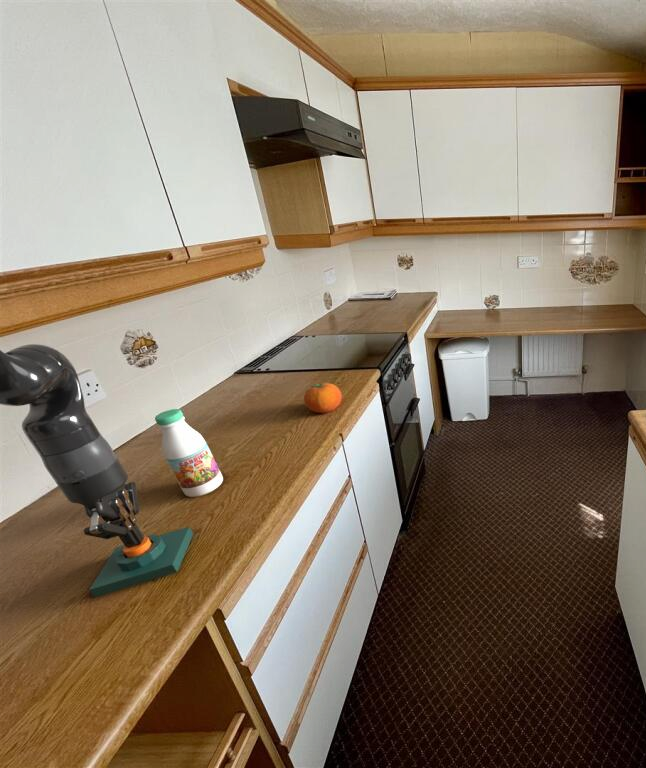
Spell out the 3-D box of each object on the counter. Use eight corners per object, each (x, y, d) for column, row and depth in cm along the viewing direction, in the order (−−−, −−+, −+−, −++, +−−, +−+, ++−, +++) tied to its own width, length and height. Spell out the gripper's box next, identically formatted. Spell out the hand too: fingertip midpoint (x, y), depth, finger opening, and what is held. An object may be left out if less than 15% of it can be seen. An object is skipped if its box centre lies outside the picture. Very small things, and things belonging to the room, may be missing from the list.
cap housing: (95, 598, 70) (83, 582, 68) (121, 555, 78) (110, 540, 76) (178, 573, 73) (168, 557, 71) (194, 534, 82) (185, 519, 80)
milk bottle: (176, 495, 93) (135, 421, 85) (208, 474, 100) (172, 403, 91) (201, 500, 91) (161, 424, 82) (231, 478, 98) (197, 406, 89)
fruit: (349, 409, 126) (342, 386, 122) (314, 421, 120) (306, 398, 116) (337, 398, 133) (331, 376, 130) (304, 409, 128) (297, 386, 124)
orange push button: (123, 561, 72) (118, 554, 71) (132, 546, 75) (127, 540, 74) (148, 554, 73) (143, 547, 72) (155, 540, 76) (151, 533, 75)
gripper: (78, 451, 70) (126, 525, 78) (30, 498, 59) (91, 580, 67) (130, 439, 73) (172, 513, 80) (94, 483, 61) (146, 563, 69)
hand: (136, 543), depth 73 cm, fingers closed
